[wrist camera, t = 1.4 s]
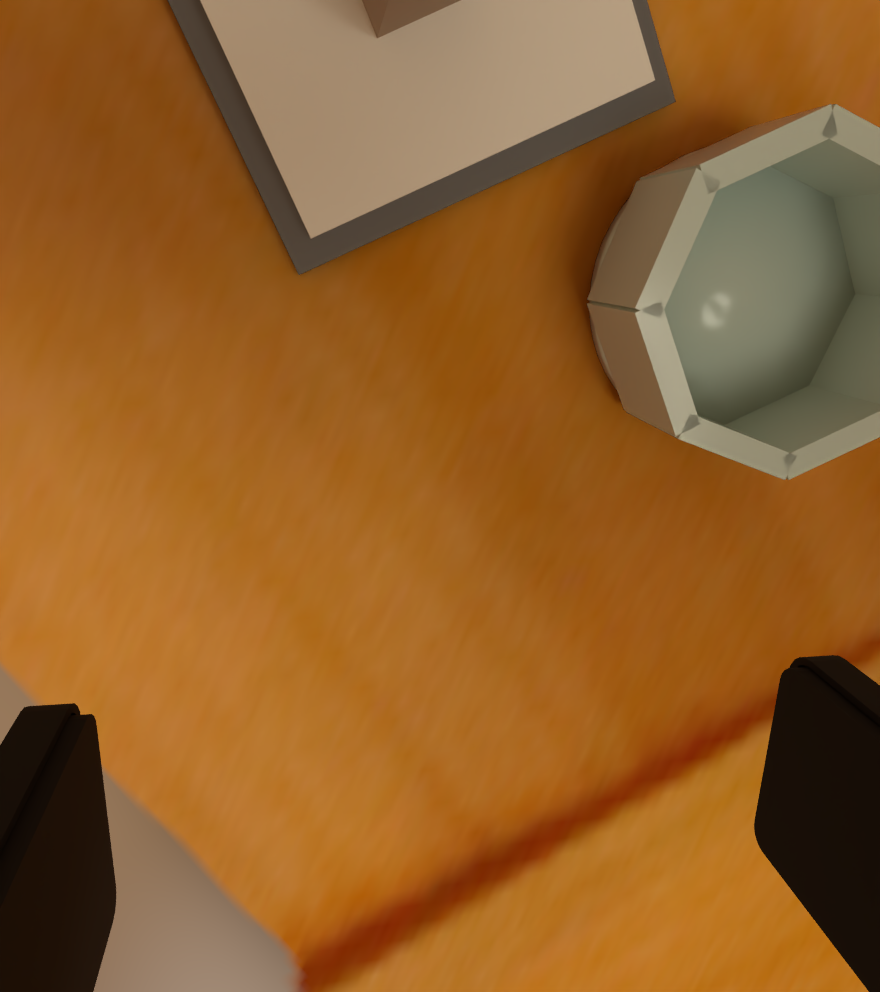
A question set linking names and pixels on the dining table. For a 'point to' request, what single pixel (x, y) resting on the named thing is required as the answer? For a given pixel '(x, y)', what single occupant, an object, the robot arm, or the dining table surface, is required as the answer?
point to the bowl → (751, 294)
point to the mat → (424, 199)
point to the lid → (416, 85)
